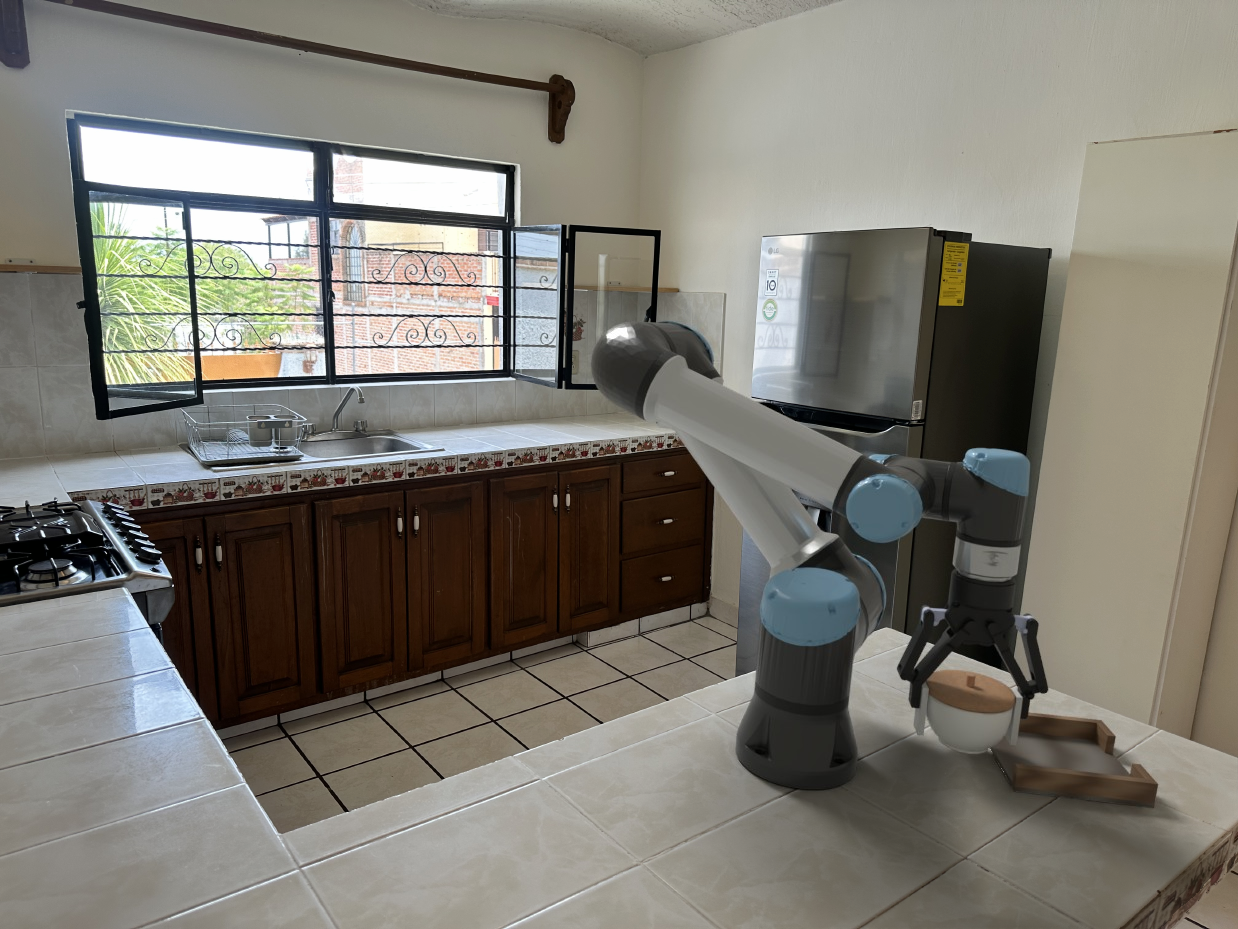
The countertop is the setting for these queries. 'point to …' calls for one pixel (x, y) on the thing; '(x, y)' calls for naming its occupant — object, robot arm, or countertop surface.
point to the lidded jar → (968, 710)
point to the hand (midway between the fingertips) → (963, 735)
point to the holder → (1072, 762)
